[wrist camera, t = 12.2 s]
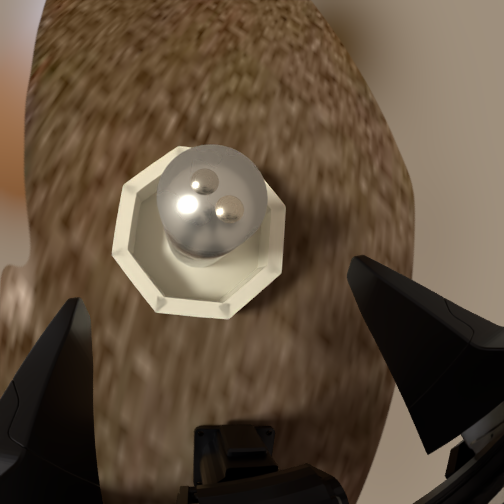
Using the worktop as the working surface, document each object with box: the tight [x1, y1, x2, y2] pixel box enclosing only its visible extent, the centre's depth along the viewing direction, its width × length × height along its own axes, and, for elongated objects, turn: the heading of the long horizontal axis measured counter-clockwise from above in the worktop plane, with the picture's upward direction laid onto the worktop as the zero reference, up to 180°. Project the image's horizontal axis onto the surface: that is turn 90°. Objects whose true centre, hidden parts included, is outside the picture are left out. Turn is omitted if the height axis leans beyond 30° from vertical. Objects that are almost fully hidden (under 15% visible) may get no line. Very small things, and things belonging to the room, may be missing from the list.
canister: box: [157, 145, 268, 268], centre depth 16 cm, size 4×4×10 cm
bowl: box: [112, 146, 286, 319], centre depth 20 cm, size 11×11×4 cm
